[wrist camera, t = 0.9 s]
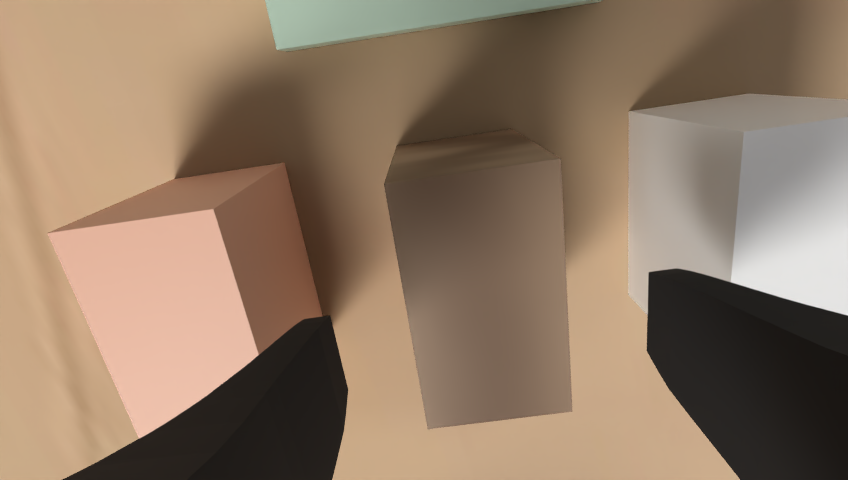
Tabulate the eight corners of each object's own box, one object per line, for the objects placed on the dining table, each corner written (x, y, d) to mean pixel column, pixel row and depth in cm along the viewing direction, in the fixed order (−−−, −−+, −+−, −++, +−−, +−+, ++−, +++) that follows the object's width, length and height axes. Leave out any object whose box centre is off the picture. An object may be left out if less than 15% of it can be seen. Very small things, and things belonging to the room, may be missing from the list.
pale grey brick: (746, 93, 16) (932, 104, 10) (730, 280, 18) (873, 374, 12) (628, 111, 16) (744, 131, 10) (627, 294, 18) (721, 393, 12)
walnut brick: (511, 128, 16) (561, 158, 10) (525, 307, 18) (572, 411, 13) (397, 145, 16) (384, 184, 10) (425, 320, 18) (427, 428, 13)
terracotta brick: (285, 162, 16) (213, 209, 11) (327, 333, 19) (287, 446, 13) (175, 178, 16) (47, 233, 11) (231, 346, 19) (150, 463, 13)
